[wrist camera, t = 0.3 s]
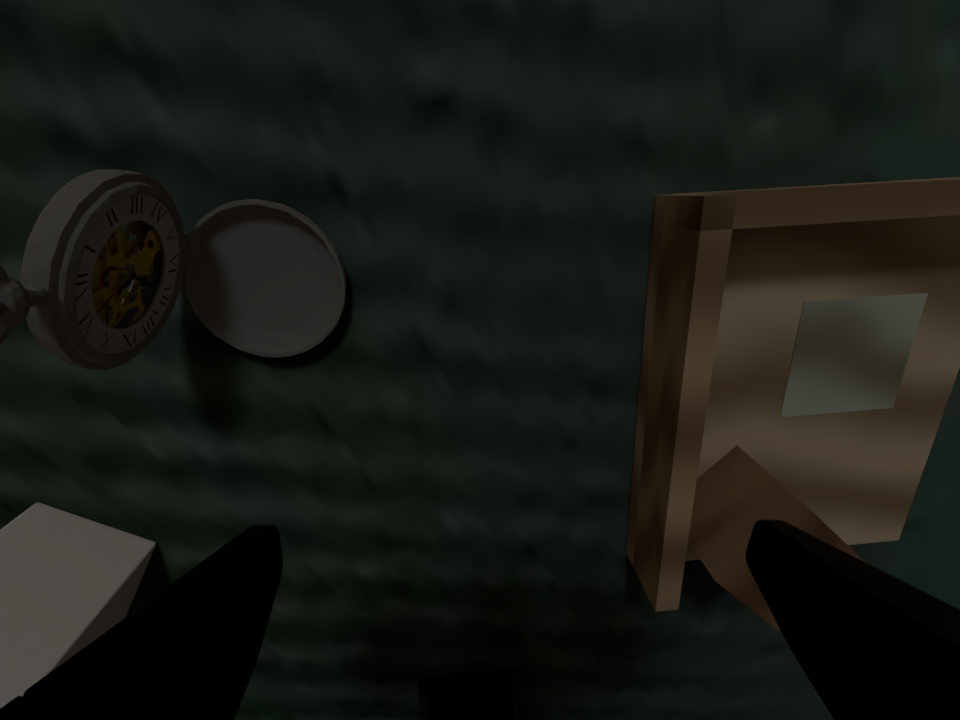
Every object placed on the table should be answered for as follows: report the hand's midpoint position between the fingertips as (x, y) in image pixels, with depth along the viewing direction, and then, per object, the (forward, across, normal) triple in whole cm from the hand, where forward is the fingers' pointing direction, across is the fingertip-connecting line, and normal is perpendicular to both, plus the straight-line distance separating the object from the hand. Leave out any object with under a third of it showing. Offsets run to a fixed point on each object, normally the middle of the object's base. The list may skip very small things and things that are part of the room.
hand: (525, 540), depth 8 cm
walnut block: (+13, -14, +9) cm, 21 cm away
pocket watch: (+14, +10, -3) cm, 17 cm away
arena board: (+14, -16, +3) cm, 22 cm away
